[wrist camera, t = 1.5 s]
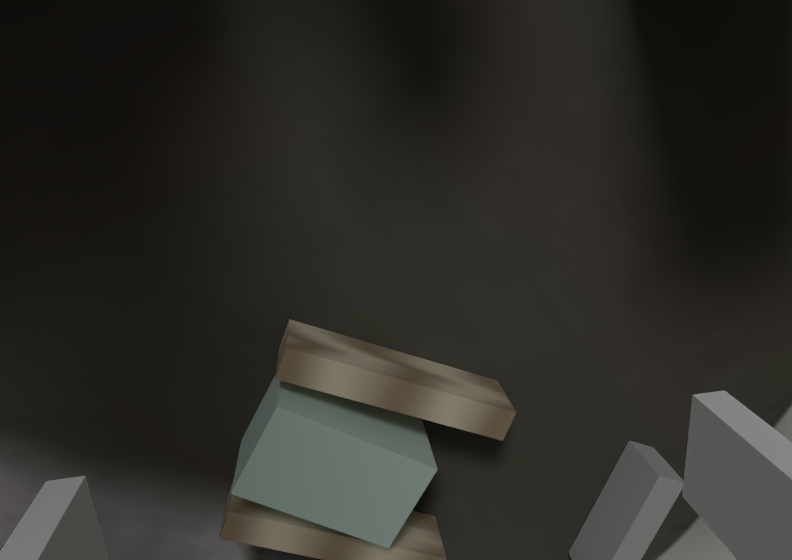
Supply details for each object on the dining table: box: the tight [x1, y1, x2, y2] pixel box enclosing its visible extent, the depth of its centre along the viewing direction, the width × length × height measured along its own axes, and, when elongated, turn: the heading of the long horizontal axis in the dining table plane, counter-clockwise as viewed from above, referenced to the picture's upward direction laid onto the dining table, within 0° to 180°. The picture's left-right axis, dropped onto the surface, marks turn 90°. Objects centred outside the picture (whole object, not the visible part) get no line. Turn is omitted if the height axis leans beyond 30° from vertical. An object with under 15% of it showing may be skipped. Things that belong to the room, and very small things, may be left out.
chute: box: [219, 319, 516, 560], centre depth 38 cm, size 14×13×4 cm
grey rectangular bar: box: [569, 441, 684, 560], centre depth 42 cm, size 2×10×4 cm, turn 159°
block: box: [231, 375, 438, 548], centre depth 37 cm, size 10×6×6 cm, turn 62°
